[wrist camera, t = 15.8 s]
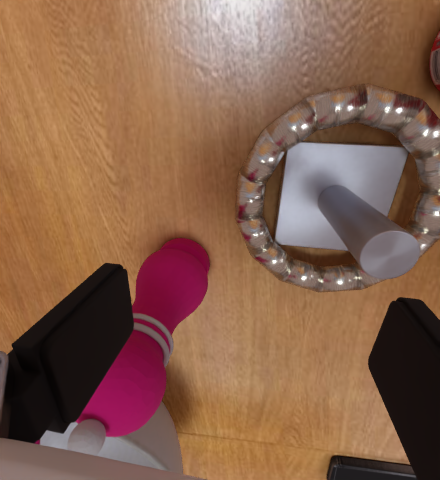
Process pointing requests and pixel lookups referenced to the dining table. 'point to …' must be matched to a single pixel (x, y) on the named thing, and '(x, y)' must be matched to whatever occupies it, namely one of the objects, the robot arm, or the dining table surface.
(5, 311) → the dining table surface
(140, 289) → the pepper mill
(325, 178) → the stand
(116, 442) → the decorative bowl
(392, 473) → the phone
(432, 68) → the soda can
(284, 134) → the ring
